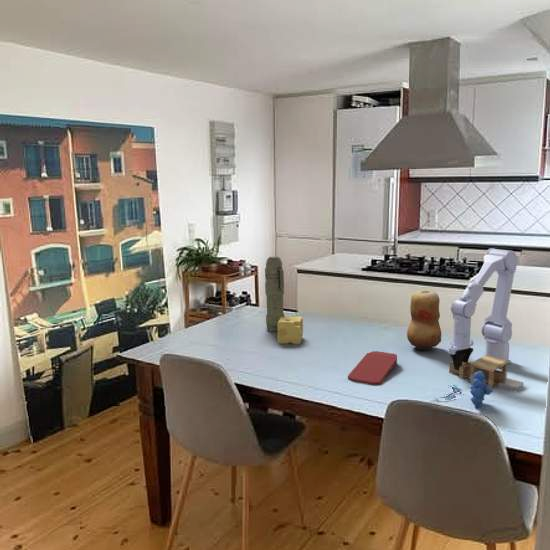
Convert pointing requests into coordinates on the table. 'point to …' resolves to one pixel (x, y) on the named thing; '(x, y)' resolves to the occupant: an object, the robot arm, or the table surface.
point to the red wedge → (373, 368)
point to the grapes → (479, 388)
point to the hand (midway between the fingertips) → (460, 368)
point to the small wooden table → (488, 367)
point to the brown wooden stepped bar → (465, 371)
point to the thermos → (274, 292)
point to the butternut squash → (424, 320)
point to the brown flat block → (511, 384)
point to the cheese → (290, 330)
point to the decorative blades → (451, 396)
